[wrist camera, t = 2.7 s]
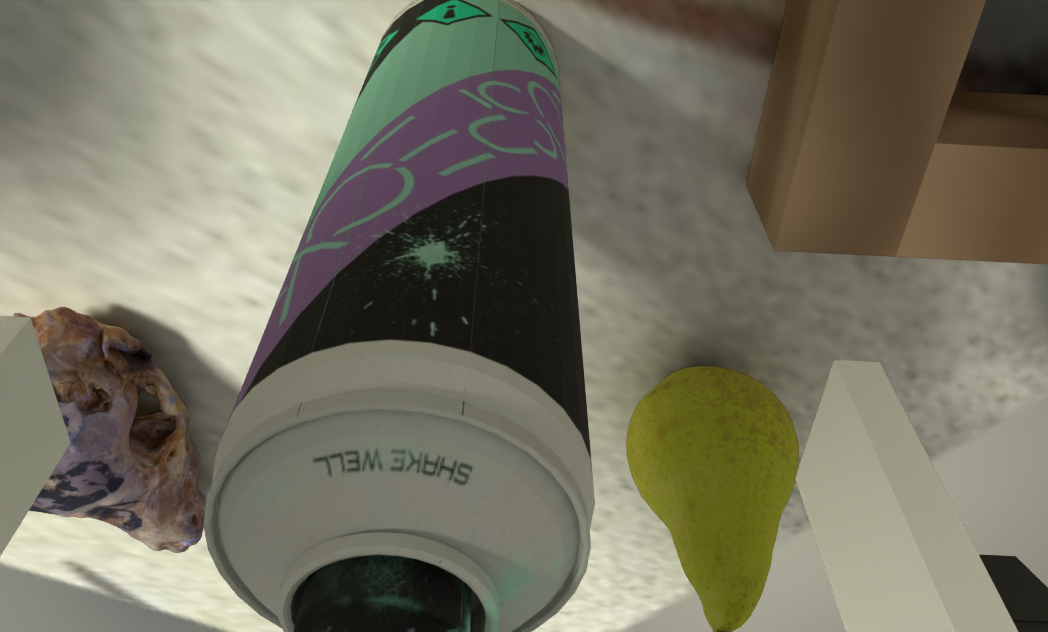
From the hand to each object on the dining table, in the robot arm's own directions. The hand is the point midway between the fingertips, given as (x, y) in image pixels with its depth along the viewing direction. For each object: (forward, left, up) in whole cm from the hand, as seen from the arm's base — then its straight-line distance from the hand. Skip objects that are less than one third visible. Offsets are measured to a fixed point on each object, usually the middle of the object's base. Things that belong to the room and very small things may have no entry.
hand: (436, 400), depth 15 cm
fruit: (+9, -11, -15) cm, 20 cm away
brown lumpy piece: (-14, -14, -15) cm, 24 cm away
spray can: (0, 0, -14) cm, 14 cm away
